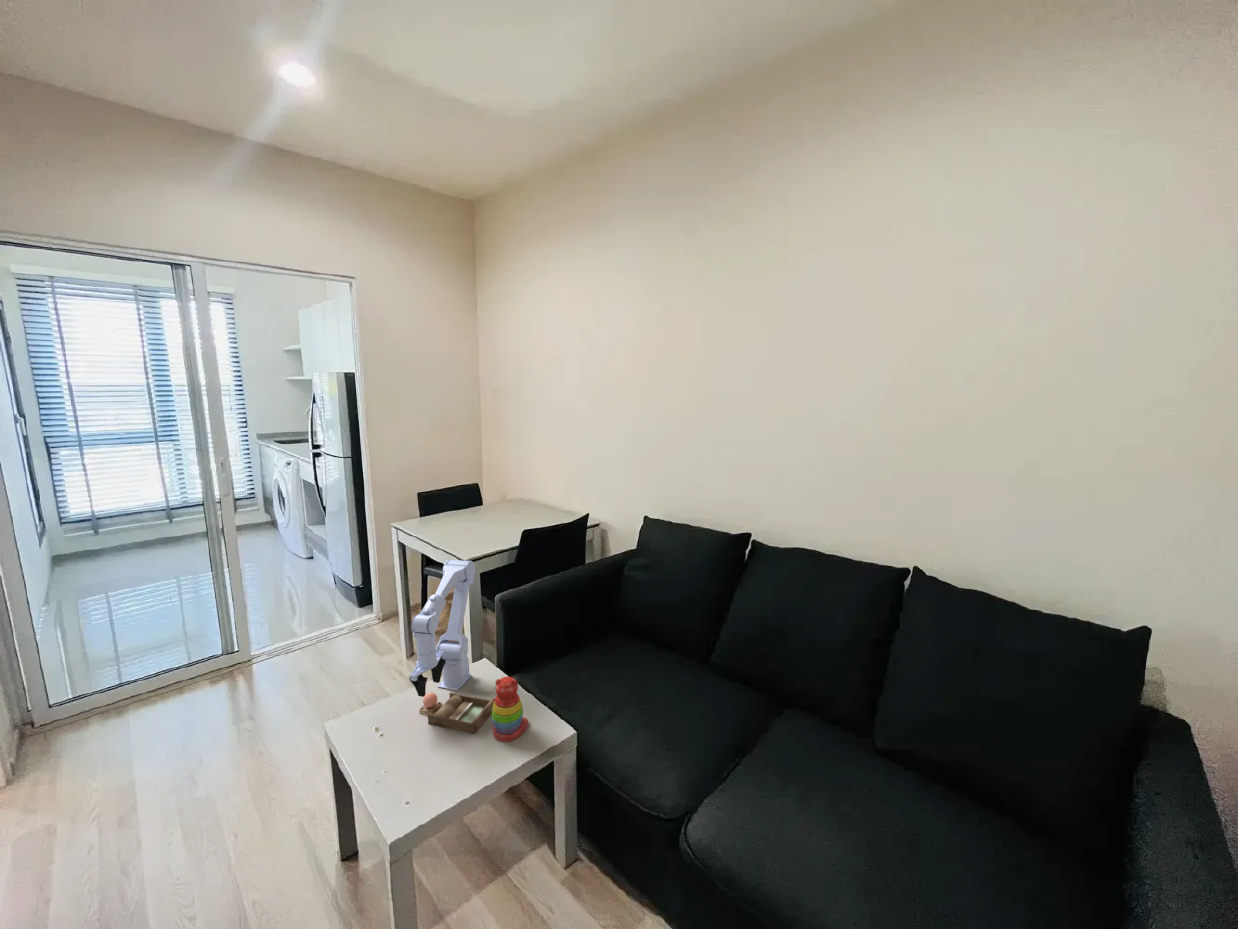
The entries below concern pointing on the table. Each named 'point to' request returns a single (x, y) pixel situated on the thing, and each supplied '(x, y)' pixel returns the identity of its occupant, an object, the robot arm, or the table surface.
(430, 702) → the ball
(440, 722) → the wooden tray
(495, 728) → the stacking bear
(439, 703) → the wooden footed board
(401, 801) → the table surface
